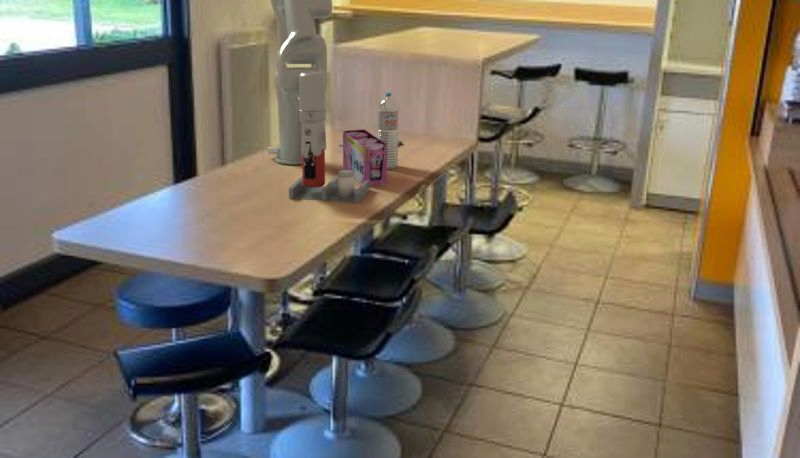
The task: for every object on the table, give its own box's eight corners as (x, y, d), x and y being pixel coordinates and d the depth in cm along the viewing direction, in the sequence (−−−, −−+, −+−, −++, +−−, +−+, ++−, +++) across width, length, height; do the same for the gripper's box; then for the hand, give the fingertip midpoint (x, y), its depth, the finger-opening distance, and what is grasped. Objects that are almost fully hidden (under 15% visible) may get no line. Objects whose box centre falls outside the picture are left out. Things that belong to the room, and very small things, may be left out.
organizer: (289, 201, 235) (288, 188, 234) (302, 188, 248) (302, 175, 247) (358, 206, 232) (359, 193, 230) (369, 192, 245) (369, 180, 243)
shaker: (335, 196, 237) (335, 173, 234) (339, 192, 241) (339, 169, 239) (352, 198, 236) (352, 174, 234) (356, 193, 241) (356, 170, 238)
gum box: (389, 188, 250) (389, 145, 245) (364, 190, 247) (365, 147, 243) (364, 168, 271) (365, 129, 266) (342, 170, 268) (342, 130, 264)
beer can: (327, 182, 242) (327, 143, 238) (321, 189, 236) (320, 148, 232) (306, 181, 243) (305, 142, 239) (299, 187, 237) (298, 147, 233)
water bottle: (398, 164, 276) (399, 91, 268) (396, 169, 270) (397, 95, 262) (378, 163, 277) (379, 90, 269) (376, 169, 271) (376, 94, 262)
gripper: (317, 122, 224) (318, 184, 230) (332, 110, 240) (333, 168, 246) (291, 120, 225) (292, 182, 231) (308, 109, 241) (309, 167, 247)
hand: (313, 174), depth 238 cm, fingers closed on beer can, 6 cm apart
